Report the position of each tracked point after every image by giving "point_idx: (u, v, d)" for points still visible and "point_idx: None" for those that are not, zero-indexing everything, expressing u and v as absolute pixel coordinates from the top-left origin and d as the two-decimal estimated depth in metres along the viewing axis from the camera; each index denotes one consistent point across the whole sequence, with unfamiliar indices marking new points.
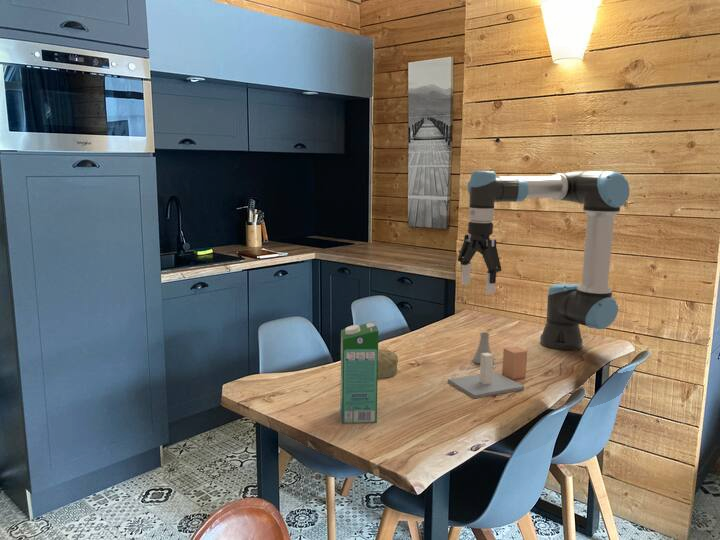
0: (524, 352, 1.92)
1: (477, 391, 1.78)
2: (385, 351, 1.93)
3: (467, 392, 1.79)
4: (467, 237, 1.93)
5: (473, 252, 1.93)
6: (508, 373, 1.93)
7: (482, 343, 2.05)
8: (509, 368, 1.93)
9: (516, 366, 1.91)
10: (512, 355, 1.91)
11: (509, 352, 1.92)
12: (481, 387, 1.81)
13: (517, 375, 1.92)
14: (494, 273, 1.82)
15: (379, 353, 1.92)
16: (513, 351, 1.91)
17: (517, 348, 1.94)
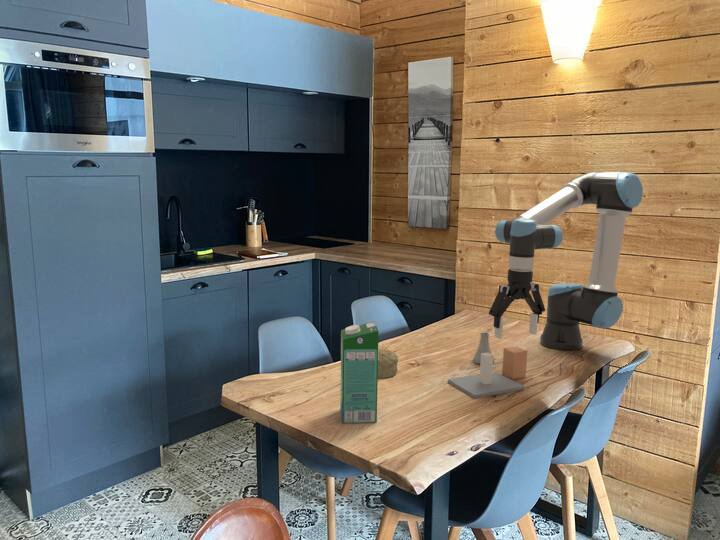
0: (524, 352, 1.92)
1: (477, 391, 1.78)
2: (385, 351, 1.93)
3: (467, 392, 1.79)
4: None
5: (528, 300, 1.92)
6: (508, 373, 1.93)
7: (482, 343, 2.05)
8: (509, 368, 1.93)
9: (516, 366, 1.91)
10: (512, 355, 1.91)
11: (509, 352, 1.92)
12: (481, 387, 1.81)
13: (517, 375, 1.92)
14: (495, 317, 1.88)
15: (379, 353, 1.92)
16: (513, 351, 1.91)
17: (517, 348, 1.94)
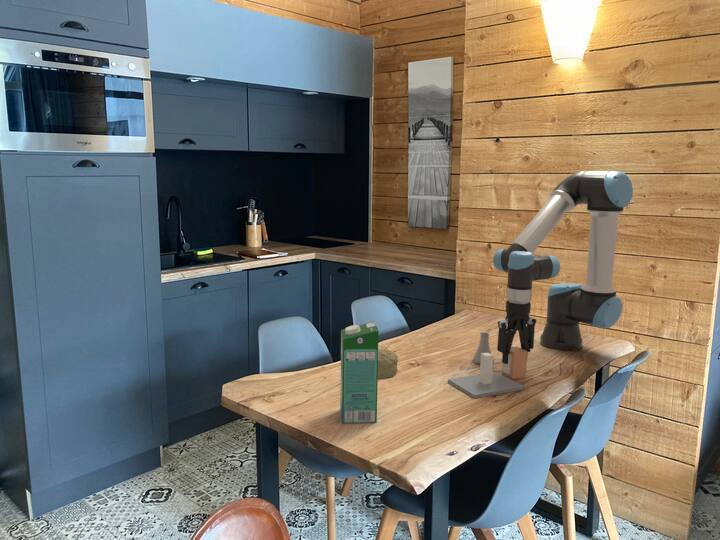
0: (524, 352, 1.92)
1: (477, 391, 1.78)
2: (385, 351, 1.93)
3: (467, 392, 1.79)
4: None
5: (521, 334, 1.93)
6: None
7: (482, 343, 2.05)
8: None
9: (516, 366, 1.91)
10: (512, 355, 1.91)
11: None
12: (481, 387, 1.81)
13: (517, 375, 1.92)
14: (503, 354, 1.92)
15: (379, 353, 1.92)
16: (513, 351, 1.91)
17: (517, 348, 1.94)
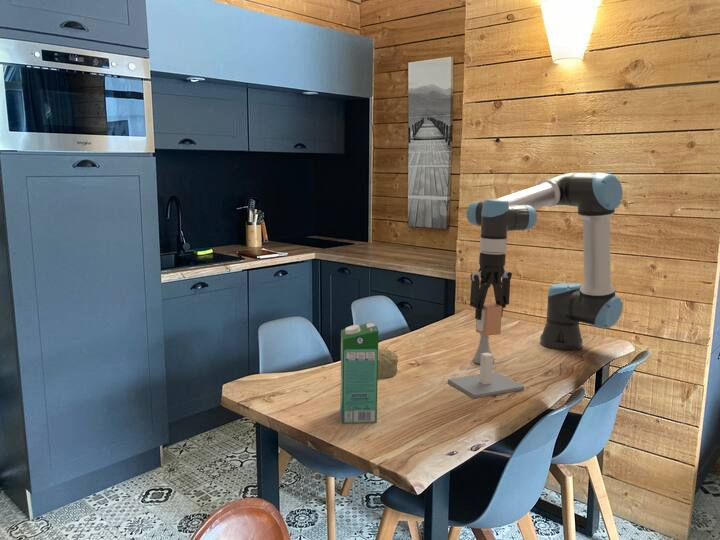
0: (499, 307, 1.79)
1: (477, 391, 1.78)
2: (385, 351, 1.93)
3: (467, 392, 1.79)
4: None
5: (496, 288, 1.80)
6: None
7: (482, 343, 2.05)
8: None
9: (490, 322, 1.79)
10: (486, 310, 1.78)
11: (483, 307, 1.80)
12: (481, 387, 1.81)
13: (491, 332, 1.80)
14: (476, 309, 1.79)
15: (379, 353, 1.92)
16: (487, 306, 1.79)
17: (491, 304, 1.82)
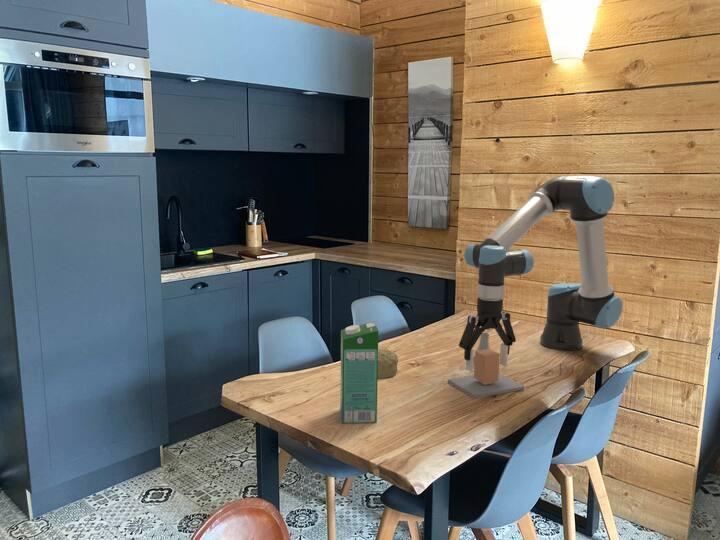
0: (496, 355, 1.82)
1: (477, 391, 1.78)
2: (385, 351, 1.93)
3: (467, 392, 1.79)
4: None
5: (498, 330, 1.83)
6: (479, 377, 1.84)
7: (482, 343, 2.05)
8: (480, 372, 1.83)
9: (488, 370, 1.82)
10: (483, 358, 1.81)
11: (480, 355, 1.82)
12: (481, 387, 1.81)
13: (489, 379, 1.82)
14: (465, 350, 1.80)
15: (379, 353, 1.92)
16: (484, 354, 1.82)
17: (489, 351, 1.85)
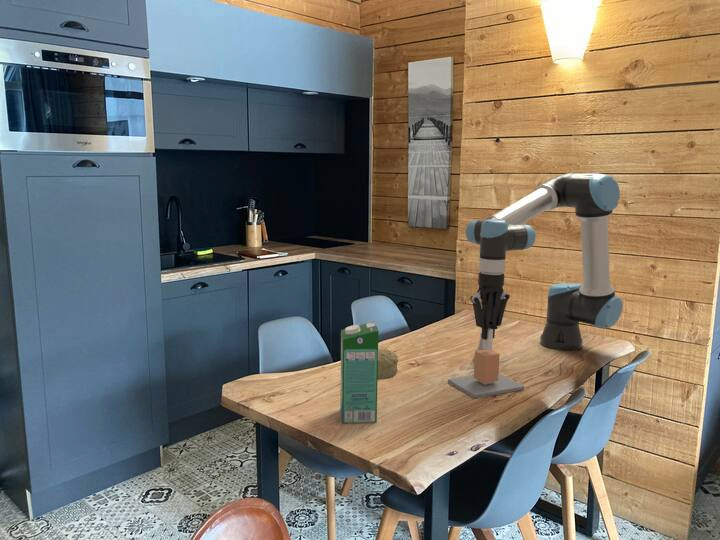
0: (496, 355, 1.82)
1: (477, 391, 1.78)
2: (385, 351, 1.93)
3: (467, 392, 1.79)
4: None
5: (492, 308, 1.81)
6: (479, 377, 1.83)
7: (482, 343, 2.05)
8: (480, 372, 1.83)
9: (488, 370, 1.82)
10: (483, 358, 1.81)
11: (480, 355, 1.82)
12: (481, 387, 1.81)
13: (489, 379, 1.82)
14: (482, 329, 1.81)
15: (379, 353, 1.92)
16: (484, 354, 1.82)
17: (489, 351, 1.85)
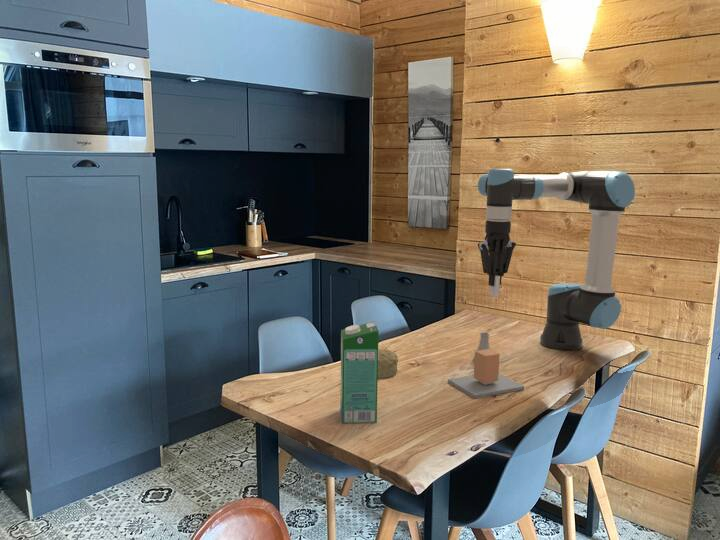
0: (496, 355, 1.82)
1: (477, 391, 1.78)
2: (385, 351, 1.93)
3: (467, 392, 1.79)
4: None
5: (499, 255, 1.86)
6: (479, 377, 1.83)
7: (482, 343, 2.05)
8: (480, 372, 1.83)
9: (488, 370, 1.82)
10: (483, 358, 1.81)
11: (480, 355, 1.82)
12: (481, 387, 1.81)
13: (489, 379, 1.82)
14: (490, 276, 1.87)
15: (379, 353, 1.92)
16: (484, 354, 1.82)
17: (489, 351, 1.85)
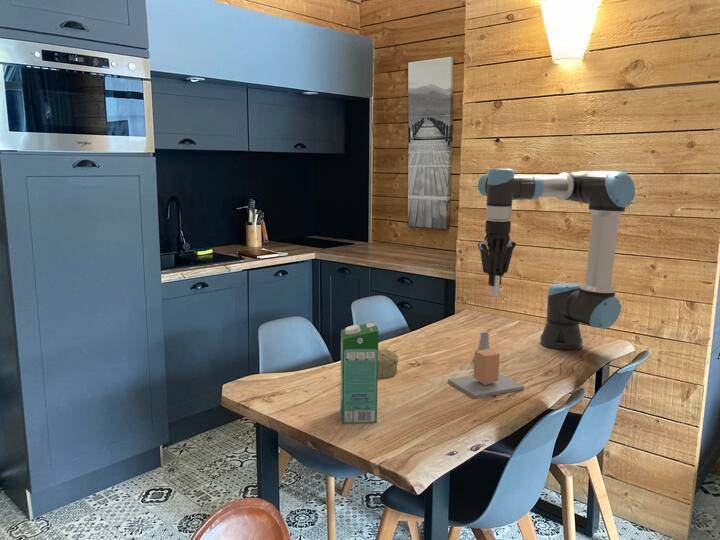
0: (496, 355, 1.82)
1: (477, 391, 1.78)
2: (385, 351, 1.93)
3: (467, 392, 1.79)
4: None
5: (498, 255, 1.86)
6: (479, 377, 1.83)
7: (482, 343, 2.05)
8: (480, 372, 1.83)
9: (488, 370, 1.82)
10: (483, 358, 1.81)
11: (480, 355, 1.82)
12: (481, 387, 1.81)
13: (489, 379, 1.82)
14: (489, 275, 1.87)
15: (379, 353, 1.92)
16: (484, 354, 1.82)
17: (489, 351, 1.85)
